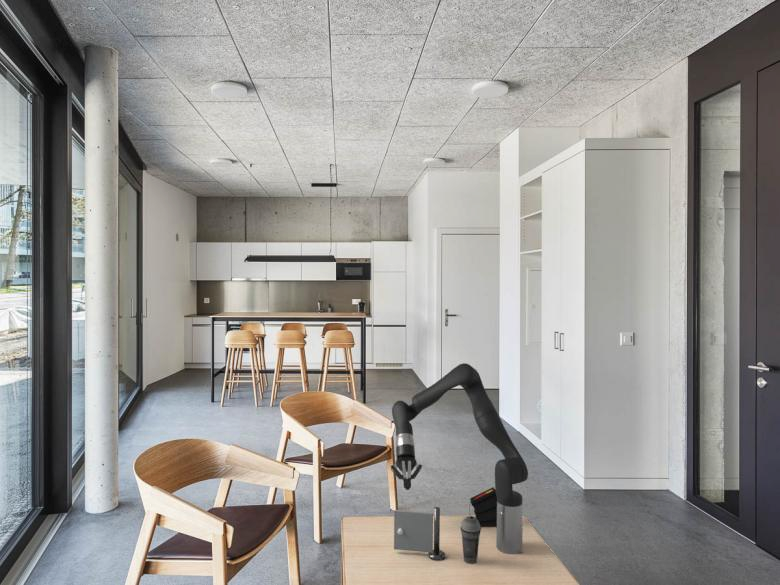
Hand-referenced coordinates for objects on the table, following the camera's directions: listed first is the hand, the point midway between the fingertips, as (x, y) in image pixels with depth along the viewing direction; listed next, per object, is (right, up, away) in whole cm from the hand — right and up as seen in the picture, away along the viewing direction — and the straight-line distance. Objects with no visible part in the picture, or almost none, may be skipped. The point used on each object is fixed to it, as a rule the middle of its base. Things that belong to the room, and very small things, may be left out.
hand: (407, 489), depth 218 cm
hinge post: (+10, -18, -16) cm, 27 cm away
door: (+2, -17, -16) cm, 23 cm away
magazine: (+32, -18, +9) cm, 38 cm away
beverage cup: (+22, -19, -19) cm, 34 cm away
